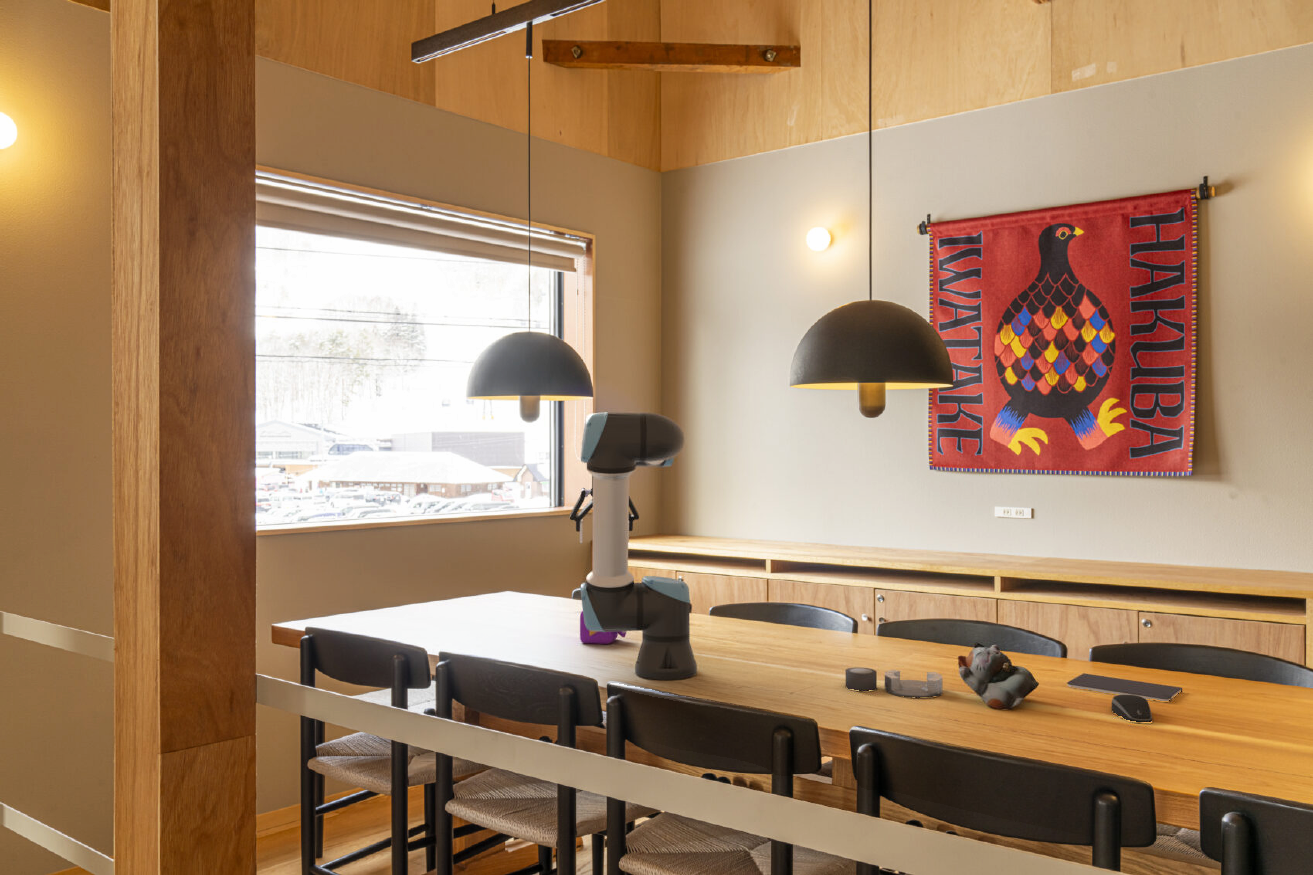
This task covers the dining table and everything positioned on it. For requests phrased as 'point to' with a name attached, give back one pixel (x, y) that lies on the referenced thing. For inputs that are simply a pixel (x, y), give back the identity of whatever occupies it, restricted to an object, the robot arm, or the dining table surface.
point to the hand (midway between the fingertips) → (604, 541)
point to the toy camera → (597, 634)
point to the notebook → (1124, 687)
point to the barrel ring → (913, 685)
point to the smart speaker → (861, 679)
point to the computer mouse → (1132, 708)
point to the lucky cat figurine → (995, 677)
